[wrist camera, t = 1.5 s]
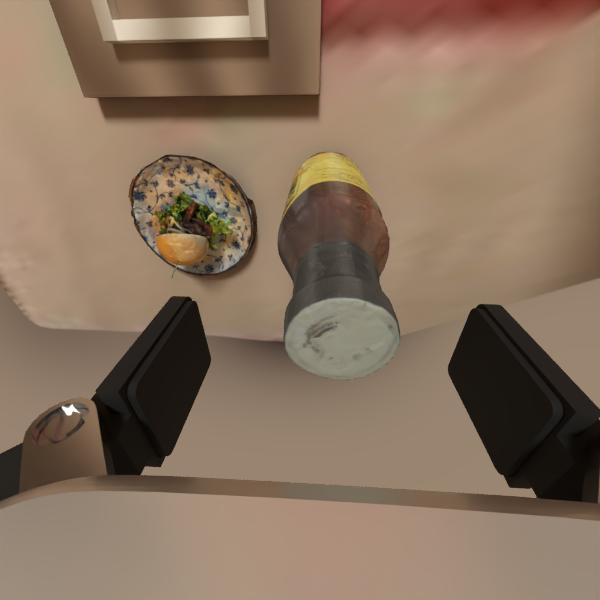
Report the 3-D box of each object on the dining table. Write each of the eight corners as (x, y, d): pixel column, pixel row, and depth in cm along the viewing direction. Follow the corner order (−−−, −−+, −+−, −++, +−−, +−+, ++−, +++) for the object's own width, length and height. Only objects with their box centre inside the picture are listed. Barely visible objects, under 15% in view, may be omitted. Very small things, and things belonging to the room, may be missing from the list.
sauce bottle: (285, 159, 24) (210, 264, 8) (358, 141, 23) (442, 221, 7) (302, 230, 28) (273, 403, 12) (366, 217, 27) (433, 390, 10)
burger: (273, 185, 26) (258, 209, 20) (239, 284, 32) (220, 325, 26) (142, 126, 24) (80, 133, 18) (134, 244, 30) (86, 278, 24)
